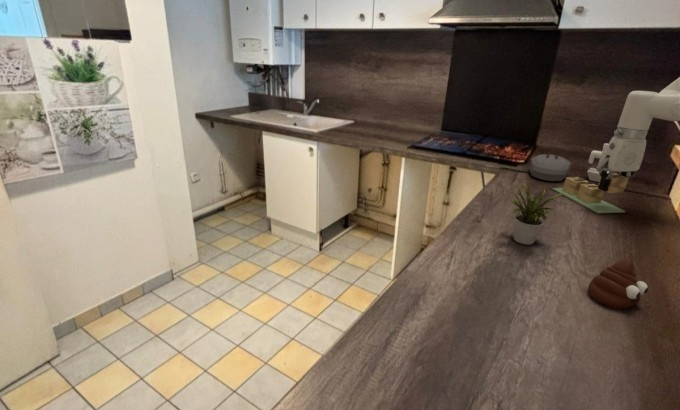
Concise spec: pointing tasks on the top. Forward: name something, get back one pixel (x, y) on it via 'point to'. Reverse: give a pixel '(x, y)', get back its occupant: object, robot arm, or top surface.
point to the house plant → (529, 216)
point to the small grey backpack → (549, 167)
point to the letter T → (617, 183)
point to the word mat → (592, 204)
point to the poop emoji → (618, 285)
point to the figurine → (593, 172)
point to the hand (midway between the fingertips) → (610, 189)
